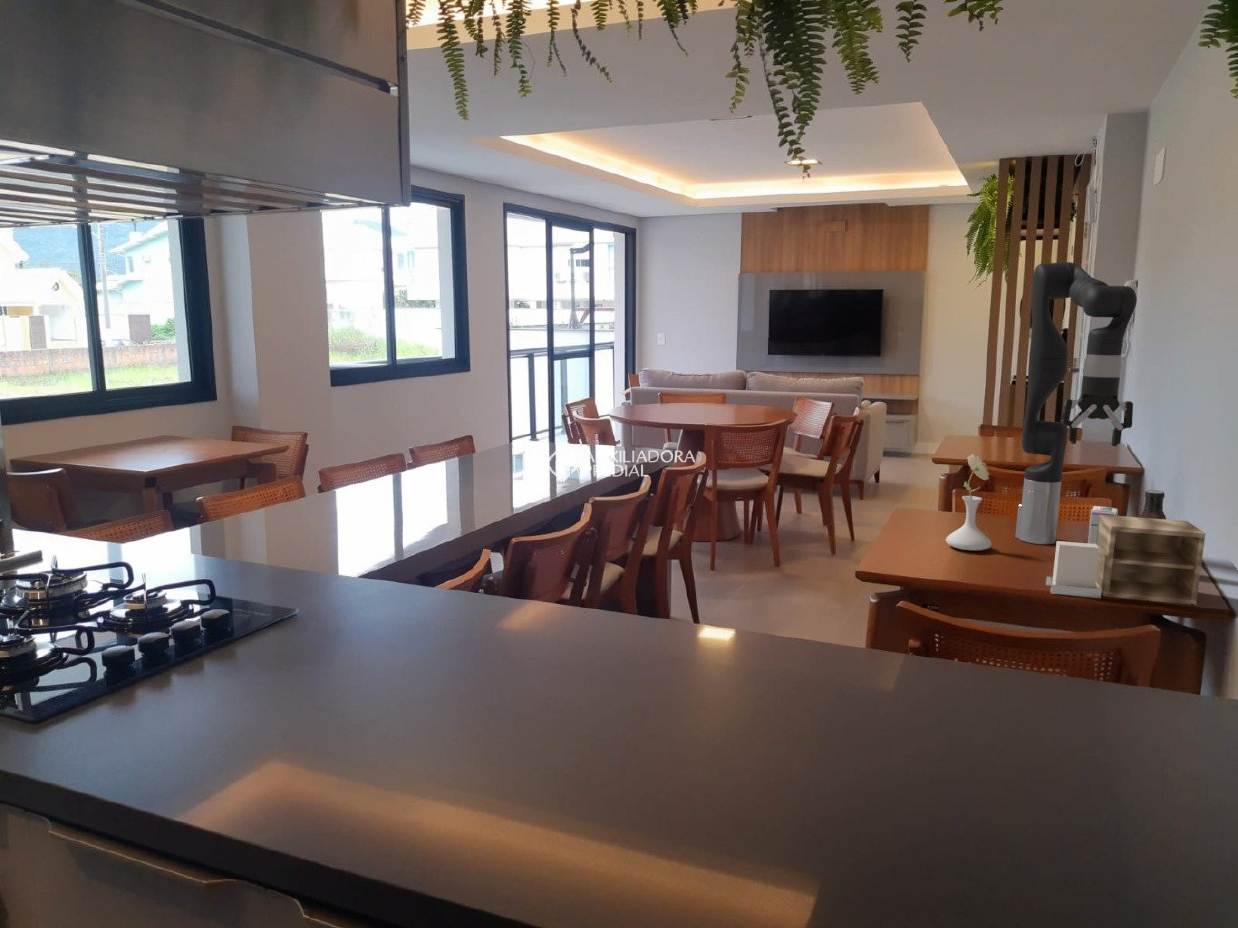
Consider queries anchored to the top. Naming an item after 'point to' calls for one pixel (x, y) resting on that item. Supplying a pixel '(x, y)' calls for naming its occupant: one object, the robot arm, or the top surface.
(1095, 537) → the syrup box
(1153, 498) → the sauce bottle
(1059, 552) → the white rectangular block
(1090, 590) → the grey slotted stand
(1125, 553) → the carcass
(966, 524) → the flower in vase
